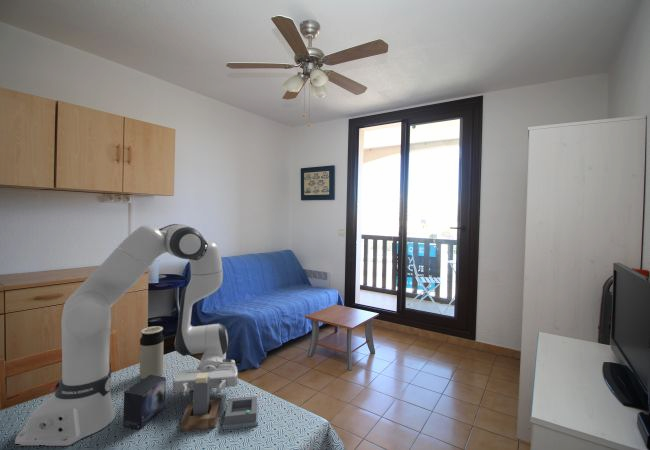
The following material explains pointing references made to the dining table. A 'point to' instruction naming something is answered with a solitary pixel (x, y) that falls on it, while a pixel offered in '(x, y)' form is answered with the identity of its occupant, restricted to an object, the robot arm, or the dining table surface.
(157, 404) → the small box
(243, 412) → the dock
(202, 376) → the plug
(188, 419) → the frame
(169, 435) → the dining table surface
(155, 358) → the travel mug
